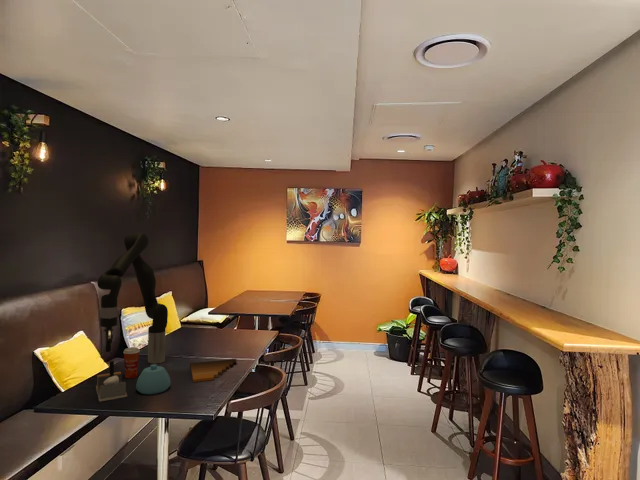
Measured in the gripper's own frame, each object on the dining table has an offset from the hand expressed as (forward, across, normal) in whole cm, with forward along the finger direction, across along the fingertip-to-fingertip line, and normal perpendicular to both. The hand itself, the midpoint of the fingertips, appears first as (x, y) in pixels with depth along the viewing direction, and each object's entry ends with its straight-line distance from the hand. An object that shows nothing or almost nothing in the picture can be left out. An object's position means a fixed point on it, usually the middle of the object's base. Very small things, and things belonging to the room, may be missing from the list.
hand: (108, 351), depth 199 cm
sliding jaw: (+14, +6, 0) cm, 16 cm away
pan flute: (+16, +10, +51) cm, 54 cm away
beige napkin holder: (+15, +14, 0) cm, 21 cm away
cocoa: (+14, +15, 0) cm, 21 cm away
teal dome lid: (+16, +20, +18) cm, 31 cm away
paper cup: (+15, -4, +11) cm, 19 cm away
